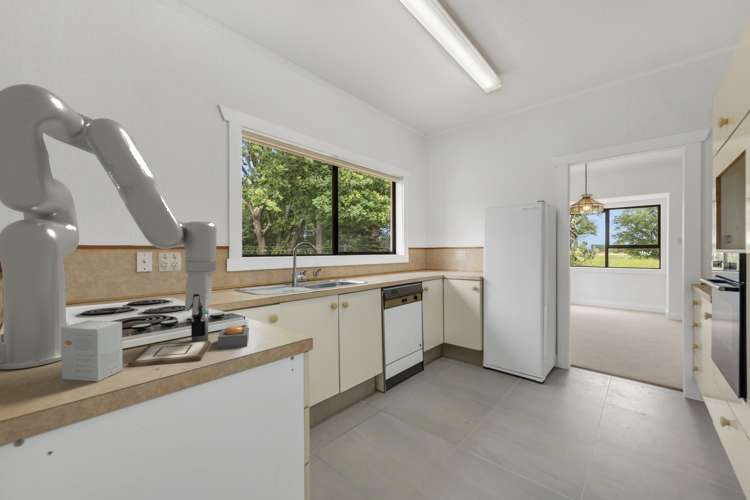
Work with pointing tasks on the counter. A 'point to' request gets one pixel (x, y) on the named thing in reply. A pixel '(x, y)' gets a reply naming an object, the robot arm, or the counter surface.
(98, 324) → the small box
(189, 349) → the wooden picture frame
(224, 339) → the button housing
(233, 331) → the button
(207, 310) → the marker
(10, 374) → the counter surface
